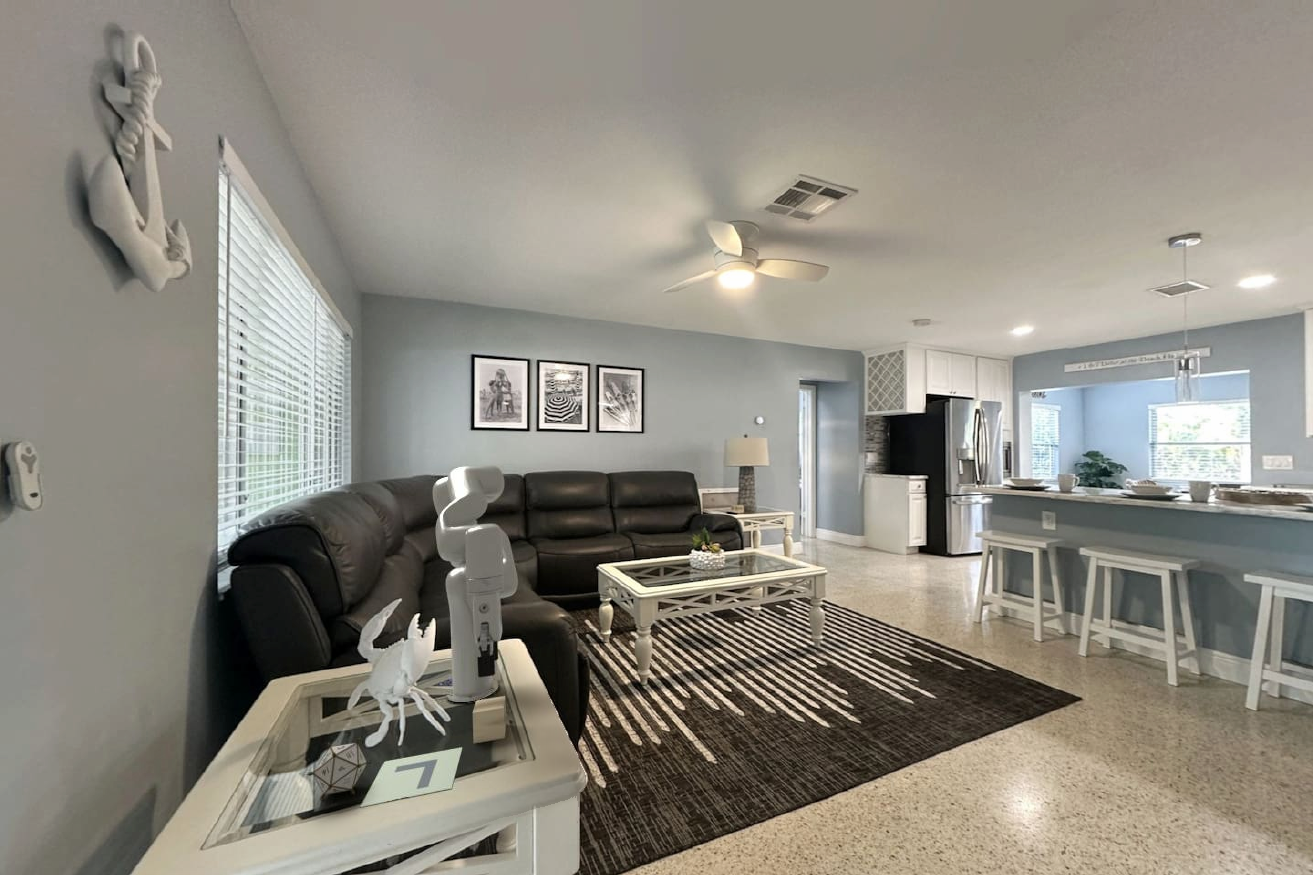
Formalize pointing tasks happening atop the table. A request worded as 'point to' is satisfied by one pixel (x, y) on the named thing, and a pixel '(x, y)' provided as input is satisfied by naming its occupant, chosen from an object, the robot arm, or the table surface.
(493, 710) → the cube
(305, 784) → the table surface
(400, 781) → the letter card
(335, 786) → the game die
